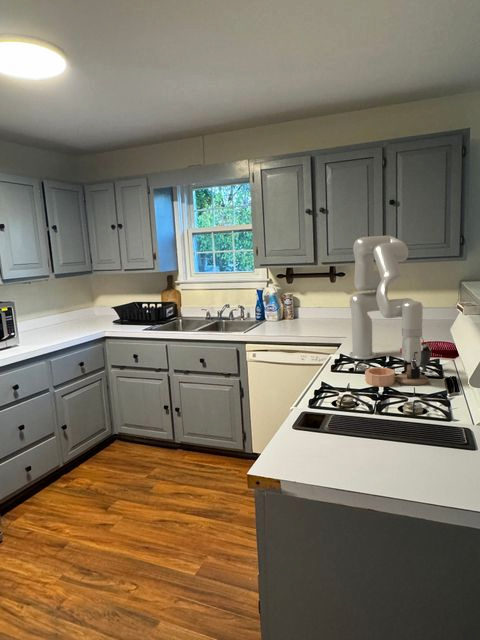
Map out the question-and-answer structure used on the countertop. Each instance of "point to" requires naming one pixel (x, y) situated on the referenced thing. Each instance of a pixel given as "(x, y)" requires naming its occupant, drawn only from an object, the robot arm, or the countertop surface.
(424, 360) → the sundae
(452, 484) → the countertop surface
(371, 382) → the bowl
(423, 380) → the lid
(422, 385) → the mat
